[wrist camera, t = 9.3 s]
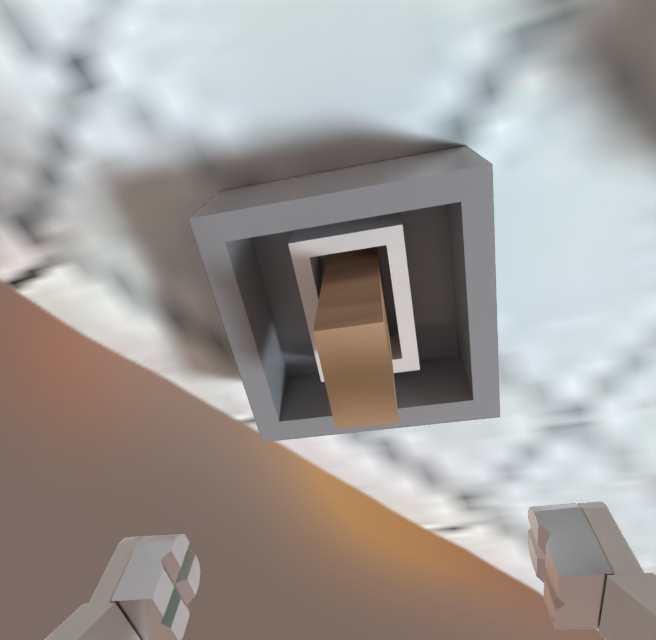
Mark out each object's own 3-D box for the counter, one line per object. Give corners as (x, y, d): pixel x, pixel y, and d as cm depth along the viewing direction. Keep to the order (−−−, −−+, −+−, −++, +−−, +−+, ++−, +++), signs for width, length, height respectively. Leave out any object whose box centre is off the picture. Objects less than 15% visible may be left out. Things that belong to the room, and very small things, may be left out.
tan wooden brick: (327, 253, 24) (312, 331, 17) (376, 245, 23) (383, 322, 16) (342, 330, 26) (335, 429, 19) (388, 324, 25) (398, 422, 18)
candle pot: (220, 191, 24) (188, 218, 19) (465, 145, 22) (492, 163, 17) (277, 385, 29) (262, 442, 24) (477, 360, 27) (499, 417, 23)
